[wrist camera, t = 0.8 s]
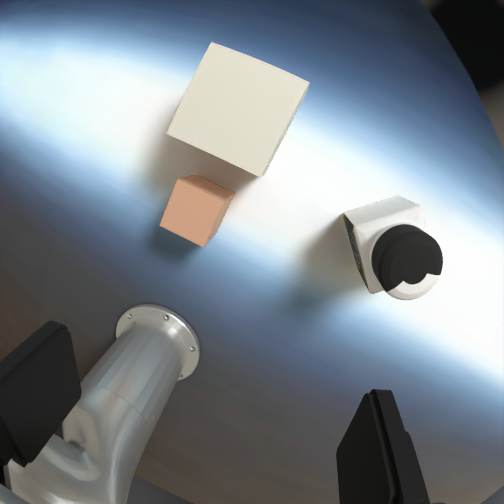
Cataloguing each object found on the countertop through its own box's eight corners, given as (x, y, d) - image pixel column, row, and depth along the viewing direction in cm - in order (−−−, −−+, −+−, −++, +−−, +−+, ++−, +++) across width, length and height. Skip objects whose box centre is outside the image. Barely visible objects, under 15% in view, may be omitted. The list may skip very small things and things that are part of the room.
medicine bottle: (341, 212, 35) (364, 242, 23) (399, 194, 33) (445, 215, 22) (357, 269, 37) (382, 320, 25) (412, 251, 35) (455, 294, 24)
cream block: (264, 173, 30) (260, 177, 26) (182, 135, 30) (166, 133, 26) (307, 92, 27) (309, 82, 23) (222, 55, 27) (211, 42, 23)
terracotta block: (217, 232, 37) (203, 247, 32) (178, 213, 37) (159, 225, 31) (234, 193, 36) (223, 201, 30) (195, 174, 35) (177, 179, 30)
